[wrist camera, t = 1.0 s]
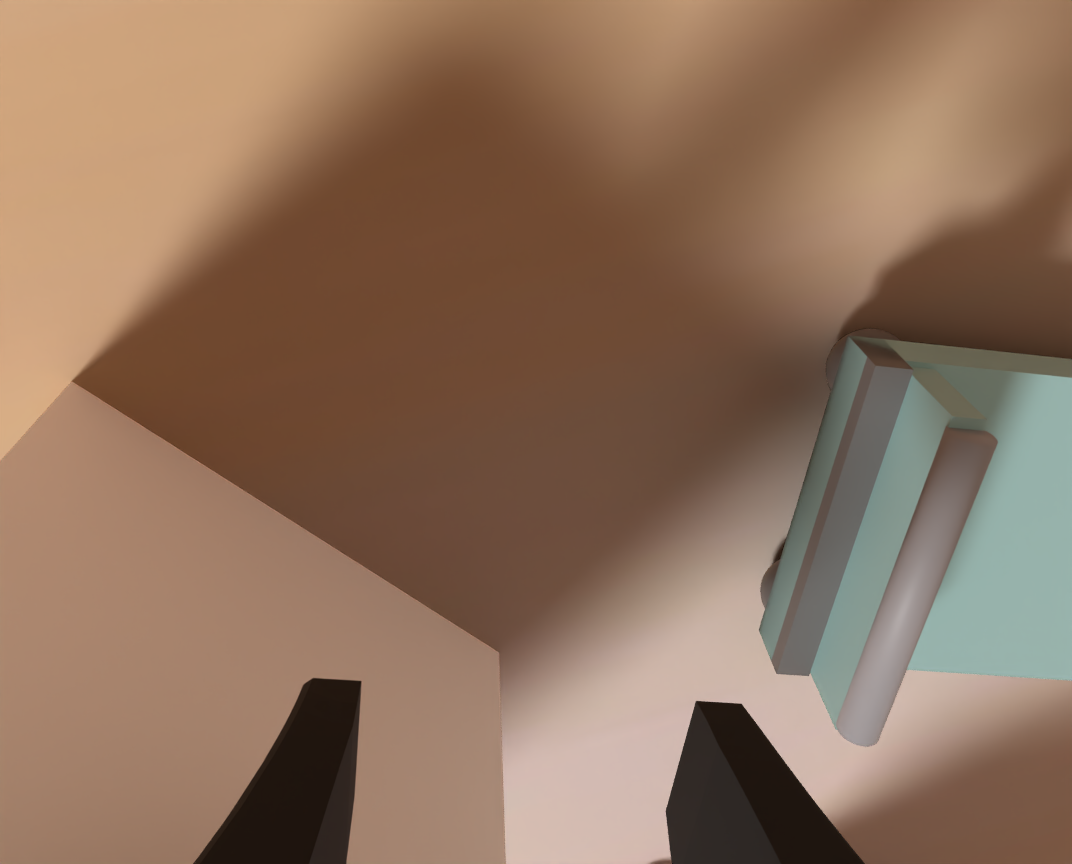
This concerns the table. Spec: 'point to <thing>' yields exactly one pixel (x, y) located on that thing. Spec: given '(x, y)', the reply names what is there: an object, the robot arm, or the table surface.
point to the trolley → (927, 526)
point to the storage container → (210, 662)
